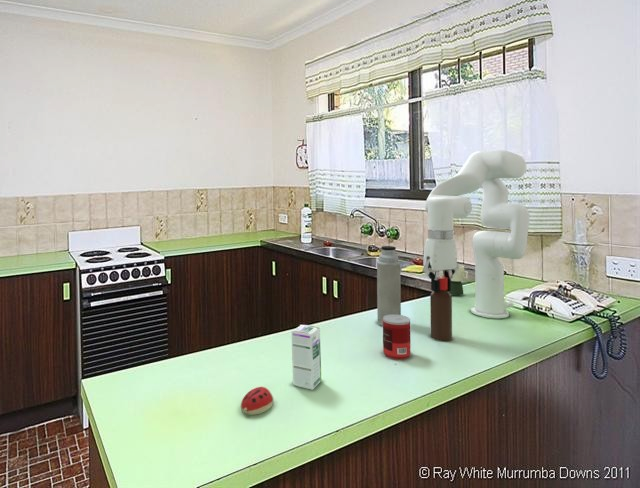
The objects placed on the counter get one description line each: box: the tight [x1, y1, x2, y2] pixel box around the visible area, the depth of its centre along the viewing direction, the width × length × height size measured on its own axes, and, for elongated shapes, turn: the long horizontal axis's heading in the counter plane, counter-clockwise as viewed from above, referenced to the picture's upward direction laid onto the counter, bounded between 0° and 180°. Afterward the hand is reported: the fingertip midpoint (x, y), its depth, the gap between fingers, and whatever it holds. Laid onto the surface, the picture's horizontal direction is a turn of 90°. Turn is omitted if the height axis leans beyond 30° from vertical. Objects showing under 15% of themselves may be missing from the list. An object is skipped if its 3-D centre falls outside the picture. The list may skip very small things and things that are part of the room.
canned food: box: [382, 314, 411, 360], centre depth 132 cm, size 8×8×11 cm
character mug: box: [448, 263, 469, 296], centre depth 193 cm, size 11×7×13 cm, turn 37°
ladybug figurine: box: [240, 386, 274, 416], centre depth 104 cm, size 7×10×4 cm
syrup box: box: [291, 324, 322, 391], centre depth 115 cm, size 6×6×14 cm
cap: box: [438, 275, 448, 290], centre depth 144 cm, size 4×4×4 cm
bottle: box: [429, 290, 453, 342], centre depth 145 cm, size 6×6×20 cm
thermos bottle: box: [376, 245, 402, 327], centre depth 159 cm, size 8×8×28 cm
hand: (440, 290), depth 144 cm, fingers closed on cap, 3 cm apart
